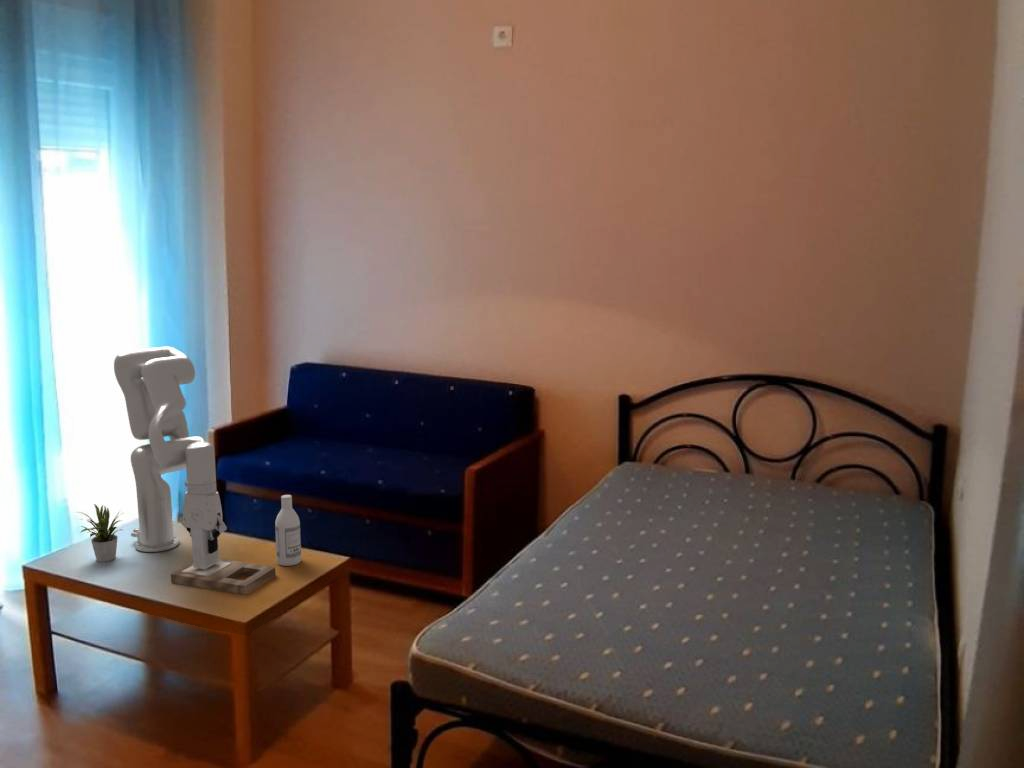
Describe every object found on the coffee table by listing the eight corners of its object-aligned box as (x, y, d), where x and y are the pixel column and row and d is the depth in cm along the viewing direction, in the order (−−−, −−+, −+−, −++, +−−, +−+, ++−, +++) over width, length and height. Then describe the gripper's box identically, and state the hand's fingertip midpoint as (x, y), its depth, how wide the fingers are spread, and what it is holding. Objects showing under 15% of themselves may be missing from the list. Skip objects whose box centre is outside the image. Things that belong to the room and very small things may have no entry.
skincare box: (207, 560, 261) (205, 519, 259) (219, 562, 260) (217, 521, 257) (192, 567, 256) (190, 526, 254) (204, 570, 254) (202, 528, 252)
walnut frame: (171, 582, 254) (170, 573, 253) (203, 564, 267) (203, 555, 266) (245, 595, 246) (245, 585, 246) (275, 575, 259) (275, 566, 259)
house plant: (68, 557, 271) (63, 504, 268) (116, 545, 281) (111, 494, 278) (87, 571, 262) (83, 515, 259) (136, 558, 271) (132, 504, 268)
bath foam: (306, 559, 271) (303, 493, 267) (293, 568, 265) (290, 500, 261) (285, 556, 273) (282, 491, 270) (272, 564, 267) (269, 498, 263)
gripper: (167, 488, 253) (171, 551, 256) (219, 495, 247) (222, 559, 251) (185, 480, 260) (189, 542, 263) (236, 487, 254) (239, 550, 258)
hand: (205, 550), depth 257 cm, fingers closed on skincare box, 4 cm apart
